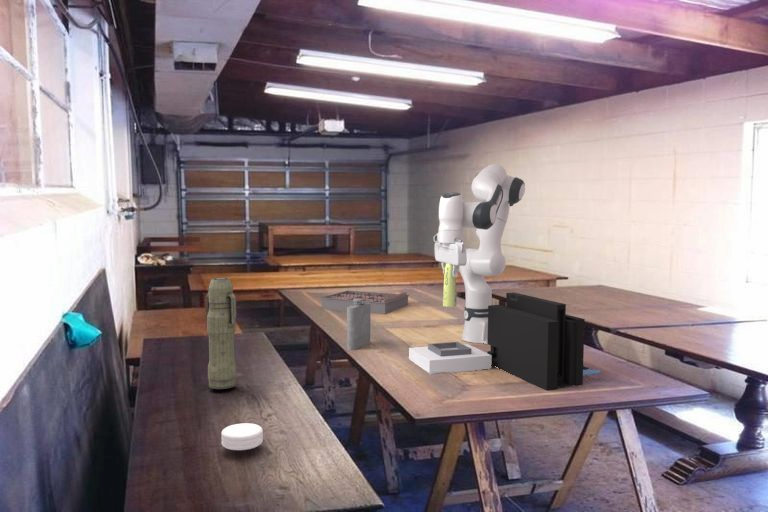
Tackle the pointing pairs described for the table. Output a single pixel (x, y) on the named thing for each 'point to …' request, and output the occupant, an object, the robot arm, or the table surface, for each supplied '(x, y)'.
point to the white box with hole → (450, 358)
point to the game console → (537, 341)
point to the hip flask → (358, 325)
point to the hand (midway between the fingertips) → (450, 275)
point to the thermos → (221, 333)
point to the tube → (449, 287)
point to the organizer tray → (365, 301)
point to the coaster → (242, 436)
